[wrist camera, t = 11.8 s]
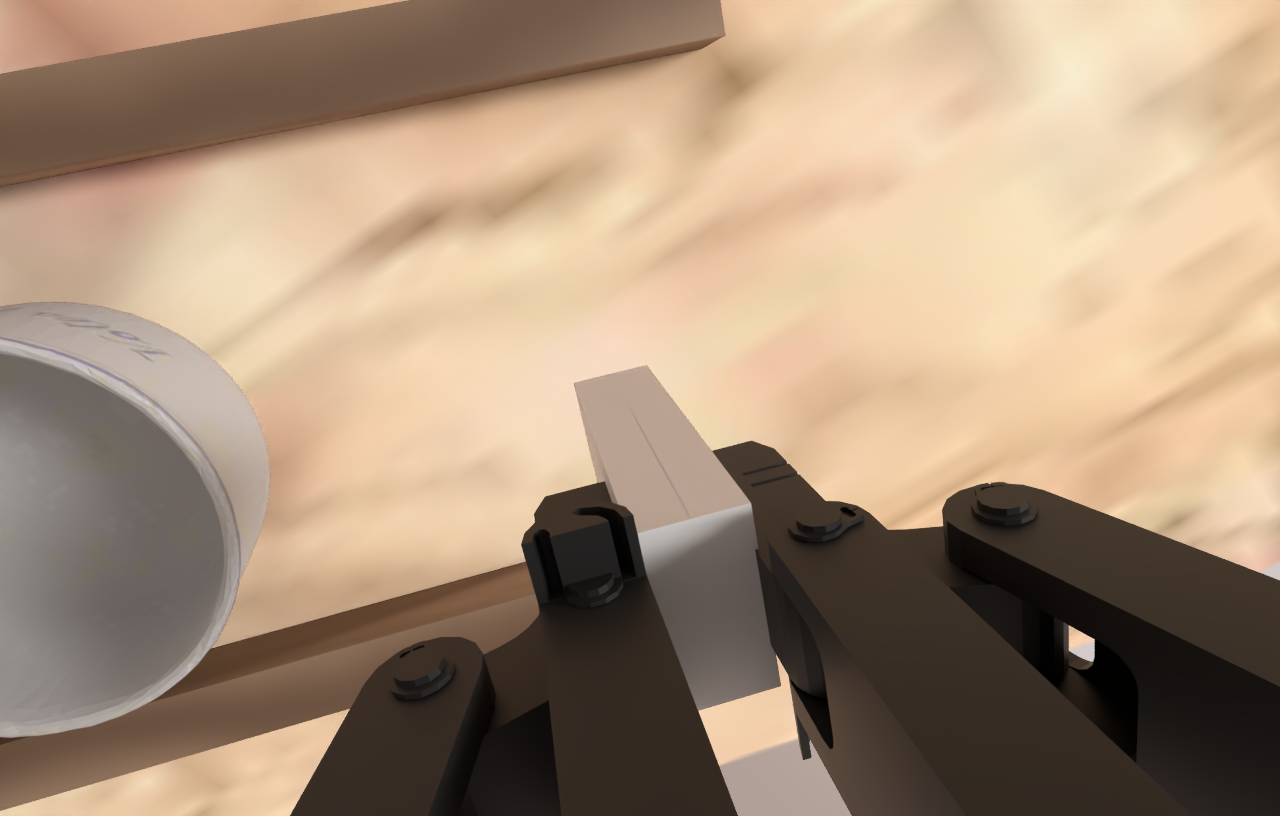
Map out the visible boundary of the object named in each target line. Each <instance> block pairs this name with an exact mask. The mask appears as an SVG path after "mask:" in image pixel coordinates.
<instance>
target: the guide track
mask: <svg viewBox="0 0 1280 816" xmlns="http://www.w3.org/2000/svg"><path fill="white" fill-rule="evenodd" d="M723 36H725V30H724V23H723V16H722V9H721V2H720V0H409V1H403V2H398V3H392V4H387V5H381V6H375V7H370V8H364V9H359V10H353V11H348V12H342V13H337V14H331V15H325V16H320V17H314V18H309V19H303V20H298V21H292V22H287V23H281V24H275V25H270V26H264V27H259V28H253V29H248V30H242V31H237V32H231V33H225V34H220V35H214V36H209V37H203V38H198V39H192V40H187V41H181V42H175V43H170V44H164V45H159V46H153V47H148V48H142V49H137V50H131V51H125V52H120V53H114V54H109V55H103V56H98V57H92V58H86V59H81V60H75V61H70V62H64V63H59V64H53V65H48V66H42V67H36V68H31V69H25V70H20V71H14V72H9V73H3V74H0V187H2V186H7V185H12V184H17V183H22V182H27V181H32V180H37V179H42V178H48V177H53V176H58V175H63V174H68V173H73V172H78V171H83V170H88V169H93V168H98V167H103V166H108V165H113V164H119V163H124V162H129V161H134V160H139V159H144V158H149V157H154V156H159V155H164V154H169V153H174V152H179V151H185V150H190V149H195V148H200V147H205V146H210V145H215V144H220V143H225V142H230V141H235V140H240V139H245V138H250V137H256V136H261V135H266V134H271V133H276V132H281V131H286V130H291V129H296V128H301V127H306V126H311V125H316V124H321V123H327V122H332V121H337V120H342V119H347V118H352V117H357V116H362V115H367V114H372V113H377V112H382V111H387V110H392V109H398V108H403V107H408V106H413V105H418V104H423V103H428V102H433V101H438V100H443V99H448V98H453V97H458V96H463V95H469V94H474V93H479V92H484V91H489V90H494V89H499V88H504V87H509V86H514V85H519V84H524V83H529V82H534V81H540V80H545V79H550V78H555V77H560V76H565V75H570V74H575V73H580V72H585V71H590V70H595V69H600V68H605V67H611V66H616V65H621V64H626V63H631V62H636V61H641V60H646V59H651V58H656V57H661V56H666V55H671V54H676V53H682V52H687V51H692V50H697V49H702V48H704V47H706V46H708V45H709V44H711V43H713V42H714V41H716V40H718V39H720V38H721V37H723ZM538 615H539V606H538V602H537V598H536V595H535V591H534V588H533V584H532V581H531V577H530V574H529V570H528V567H527V563H526V562H524V563H521V564H517V565H513V566H510V567H506V568H503V569H499V570H495V571H492V572H488V573H484V574H481V575H477V576H474V577H470V578H466V579H463V580H459V581H456V582H452V583H448V584H445V585H441V586H437V587H434V588H430V589H427V590H423V591H419V592H416V593H412V594H409V595H405V596H401V597H398V598H394V599H391V600H387V601H383V602H380V603H376V604H372V605H369V606H365V607H362V608H358V609H354V610H351V611H347V612H344V613H340V614H336V615H333V616H329V617H325V618H322V619H318V620H315V621H311V622H307V623H304V624H300V625H297V626H293V627H289V628H286V629H282V630H279V631H275V632H271V633H268V634H264V635H260V636H257V637H253V638H250V639H246V640H242V641H239V642H235V643H232V644H228V645H224V646H221V647H217V648H213V649H210V650H209V651H208V652H207V654H206V655H205V656H204V657H203V659H202V660H201V661H200V662H199V664H198V665H197V666H196V667H195V668H193V669H192V670H191V671H190V672H189V673H188V674H187V675H186V676H185V677H184V678H182V679H181V680H180V681H179V682H177V683H176V684H175V685H174V686H173V687H171V688H170V689H169V690H167V691H166V692H164V693H163V694H162V695H160V696H159V697H157V698H156V699H154V700H152V701H150V702H149V703H147V704H145V705H143V706H141V707H139V708H137V709H135V710H133V711H131V712H129V713H126V714H124V715H122V716H119V717H117V718H114V719H111V720H108V721H105V722H102V723H100V724H97V725H94V726H90V727H85V728H79V729H73V730H68V731H64V732H60V733H53V734H47V735H39V736H25V737H13V738H8V737H0V811H1V810H5V809H8V808H12V807H15V806H18V805H22V804H25V803H29V802H32V801H35V800H39V799H42V798H46V797H49V796H53V795H56V794H59V793H63V792H66V791H70V790H73V789H76V788H80V787H83V786H87V785H90V784H94V783H97V782H100V781H104V780H107V779H111V778H114V777H118V776H121V775H124V774H128V773H131V772H135V771H138V770H141V769H145V768H148V767H152V766H155V765H159V764H162V763H165V762H169V761H172V760H176V759H179V758H182V757H186V756H189V755H193V754H196V753H200V752H203V751H206V750H210V749H213V748H217V747H220V746H223V745H227V744H230V743H234V742H237V741H241V740H244V739H247V738H251V737H254V736H258V735H261V734H264V733H268V732H271V731H275V730H278V729H282V728H285V727H288V726H292V725H295V724H299V723H302V722H305V721H309V720H312V719H316V718H319V717H323V716H326V715H329V714H333V713H336V712H340V711H343V710H347V709H350V708H351V707H352V705H353V703H354V701H355V700H356V698H357V696H358V694H359V693H360V691H361V689H362V687H363V685H364V684H365V682H366V681H367V680H368V679H369V677H370V676H371V675H372V674H373V672H374V671H375V670H376V669H377V667H379V666H380V665H381V664H383V663H384V662H385V661H387V660H388V659H389V658H391V657H392V656H393V655H395V654H396V653H398V652H399V651H401V650H403V649H405V648H406V647H410V646H411V645H413V644H416V643H418V642H421V641H427V640H431V639H435V638H439V637H462V638H465V639H468V640H470V641H473V642H475V643H476V644H477V645H478V647H479V648H480V650H481V651H482V653H483V655H484V654H486V653H488V652H490V651H492V650H494V649H496V648H498V647H500V646H502V645H504V644H505V643H507V642H509V641H510V640H512V639H514V638H515V637H517V636H518V635H520V634H521V633H522V632H523V631H524V630H526V629H527V628H528V627H529V626H530V625H531V624H532V623H533V622H534V620H535V619H536V618H537V617H538Z"/></svg>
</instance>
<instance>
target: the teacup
mask: <svg viewBox="0 0 1280 816" xmlns="http://www.w3.org/2000/svg"><path fill="white" fill-rule="evenodd" d="M269 488H270V465H269V456H268V451H267V446H266V442H265V437H264V434H263V431H262V428H261V426H260V423H259V421H258V418H257V416H256V414H255V412H254V410H253V408H252V406H251V404H250V403H249V401H248V399H247V398H246V396H245V395H244V393H243V391H242V390H241V389H240V388H239V386H238V385H237V384H236V382H235V381H234V380H233V378H232V377H231V376H230V375H229V374H228V373H227V372H226V371H225V370H224V369H223V368H222V367H221V366H220V365H219V364H218V363H217V362H216V361H214V360H213V359H212V358H211V357H210V356H209V355H208V354H207V353H205V352H204V351H203V350H201V349H200V348H199V347H197V346H196V345H195V344H193V343H192V342H190V341H189V340H187V339H186V338H184V337H182V336H181V335H179V334H177V333H175V332H173V331H171V330H169V329H167V328H165V327H163V326H161V325H159V324H157V323H154V322H152V321H149V320H146V319H144V318H141V317H139V316H136V315H133V314H130V313H126V312H122V311H118V310H114V309H110V308H105V307H101V306H96V305H88V304H79V303H66V302H38V303H23V304H15V305H8V306H2V307H0V737H8V738H13V737H25V736H39V735H47V734H53V733H60V732H64V731H68V730H73V729H79V728H85V727H90V726H94V725H97V724H100V723H102V722H105V721H108V720H111V719H114V718H117V717H119V716H122V715H124V714H126V713H129V712H131V711H133V710H135V709H137V708H139V707H141V706H143V705H145V704H147V703H149V702H150V701H152V700H154V699H156V698H157V697H159V696H160V695H162V694H163V693H164V692H166V691H167V690H169V689H170V688H171V687H173V686H174V685H175V684H176V683H177V682H179V681H180V680H181V679H182V678H184V677H185V676H186V675H187V674H188V673H189V672H190V671H191V670H192V669H193V668H195V667H196V666H197V665H198V664H199V662H200V661H201V660H202V659H203V657H204V656H205V655H206V654H207V652H208V651H209V650H210V649H211V647H212V646H213V645H214V644H215V642H216V641H217V639H218V637H219V635H220V634H221V632H222V630H223V628H224V626H225V625H226V622H227V620H228V617H229V615H230V613H231V610H232V608H233V605H234V602H235V598H236V594H237V590H238V587H239V581H240V579H241V577H242V575H243V572H244V570H245V568H246V566H247V563H248V561H249V559H250V556H251V554H252V552H253V549H254V546H255V544H256V541H257V538H258V536H259V533H260V530H261V527H262V524H263V521H264V517H265V513H266V509H267V504H268V500H269Z"/></svg>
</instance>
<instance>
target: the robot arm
mask: <svg viewBox="0 0 1280 816" xmlns="http://www.w3.org/2000/svg"><path fill="white" fill-rule="evenodd" d="M574 386H575V390H576V394H577V399H578V403H579V407H580V411H581V416H582V420H583V424H584V428H585V432H586V437H587V441H588V445H589V449H590V453H591V458H592V462H593V466H594V470H595V474H596V479H597V483H596V484H592V485H588V486H584V487H580V488H577V489H573V490H569V491H565V492H561V493H557V494H553V495H550V496H546V497H545V498H544V499H543V501H542V502H541V504H540V505H539V507H538V509H537V510H536V512H535V513H534V517H535V523H534V524H533V525H532V526H531V527H530V528H529V529H528V530H527V531H526V532H525V534H524V537H523V540H522V544H521V546H522V549H523V553H524V556H525V560H526V563H527V567H528V570H529V574H530V577H531V581H532V584H533V588H534V591H535V595H536V598H537V602H538V606H539V615H538V617H537V618H536V619H535V620H534V622H533V623H532V624H531V625H530V626H529V627H528V628H527V629H526V630H524V631H523V632H522V633H521V634H520V635H518V636H517V637H515V638H514V639H512V640H510V641H509V642H507V643H505V644H504V645H502V646H500V647H498V648H496V649H494V650H492V651H490V652H488V653H486V654H484V655H483V653H482V651H481V650H480V648H479V647H478V645H477V644H476V643H475V642H473V641H470V640H468V639H465V638H462V637H439V638H435V639H431V640H427V641H421V642H418V643H416V644H413V645H411V646H410V647H406V648H405V649H403V650H401V651H399V652H398V653H396V654H395V655H393V656H392V657H391V658H389V659H388V660H387V661H385V662H384V663H383V664H381V665H380V666H379V667H377V669H376V670H375V671H374V672H373V674H372V675H371V676H370V677H369V679H368V680H367V681H366V682H365V684H364V685H363V687H362V689H361V691H360V693H359V694H358V696H357V698H356V700H355V701H354V703H353V705H352V707H351V708H350V710H349V712H348V714H347V716H346V717H345V719H344V721H343V723H342V724H341V726H340V728H339V730H338V732H337V733H336V735H335V737H334V739H333V740H332V742H331V744H330V746H329V747H328V749H327V751H326V753H325V755H324V756H323V758H322V760H321V762H320V763H319V765H318V767H317V769H316V771H315V772H314V774H313V776H312V778H311V779H310V781H309V783H308V785H307V787H306V788H305V790H304V792H303V794H302V795H301V797H300V799H299V801H298V802H297V804H296V806H295V808H294V810H293V811H292V813H291V815H290V816H738V815H737V812H736V810H735V807H734V804H733V802H732V799H731V797H730V794H729V791H728V788H727V786H726V783H725V781H724V778H723V776H722V773H721V770H720V767H719V765H718V762H717V759H716V757H715V754H714V752H713V749H712V746H711V744H710V741H709V738H708V736H707V733H706V730H705V728H704V725H703V722H702V720H701V717H700V715H699V712H698V711H699V710H702V709H705V708H709V707H712V706H715V705H719V704H722V703H726V702H729V701H732V700H736V699H739V698H742V697H746V696H749V695H752V694H756V693H759V692H763V691H766V690H769V689H773V688H776V687H779V686H781V683H780V677H779V671H778V665H777V659H776V655H777V656H778V658H779V660H780V661H781V663H782V665H783V667H784V668H785V670H786V672H787V674H788V675H789V682H790V688H791V694H792V701H793V707H794V713H795V719H796V726H797V732H798V738H799V744H800V749H801V753H802V758H803V760H805V759H809V758H811V751H810V745H809V742H810V740H811V742H812V743H813V745H814V747H815V749H816V751H817V753H818V755H819V756H820V758H821V760H822V762H823V764H824V766H825V767H826V769H827V771H828V773H829V775H830V777H831V778H832V780H833V782H834V784H835V786H836V788H837V789H838V791H839V793H840V795H841V797H842V799H843V800H844V802H845V804H846V806H847V808H848V810H849V811H850V813H851V815H852V816H1280V580H1277V579H1274V578H1272V577H1269V576H1266V575H1264V574H1261V573H1259V572H1256V571H1254V570H1251V569H1248V568H1246V567H1243V566H1241V565H1238V564H1235V563H1233V562H1230V561H1227V560H1225V559H1222V558H1220V557H1217V556H1214V555H1212V554H1209V553H1207V552H1204V551H1201V550H1199V549H1196V548H1193V547H1191V546H1188V545H1186V544H1183V543H1180V542H1178V541H1175V540H1173V539H1170V538H1167V537H1165V536H1162V535H1159V534H1157V533H1154V532H1152V531H1149V530H1146V529H1144V528H1141V527H1139V526H1136V525H1133V524H1131V523H1128V522H1125V521H1123V520H1120V519H1118V518H1115V517H1112V516H1110V515H1107V514H1105V513H1102V512H1099V511H1097V510H1094V509H1091V508H1089V507H1086V506H1084V505H1081V504H1078V503H1076V502H1073V501H1071V500H1068V499H1065V498H1063V497H1060V496H1057V495H1055V494H1052V493H1050V492H1047V491H1044V490H1041V489H1037V488H1033V487H1029V486H1025V485H1017V484H1007V483H1004V482H995V483H991V484H988V483H985V484H980V485H976V486H974V487H971V488H967V489H964V490H961V491H958V492H957V493H955V494H954V495H952V496H951V497H949V498H948V499H947V500H946V502H945V505H944V507H943V509H942V513H943V526H942V527H930V528H918V529H907V530H887V529H886V528H885V527H884V526H883V525H882V524H881V523H880V522H879V521H878V520H877V519H875V518H874V517H873V516H872V515H871V514H870V513H869V512H867V511H865V510H864V509H862V508H860V507H858V506H856V505H852V504H848V503H844V502H839V501H825V500H824V499H823V498H822V497H821V496H820V495H819V494H818V493H817V492H816V491H815V490H814V489H813V488H812V487H811V486H810V485H809V484H808V483H807V482H806V481H805V480H804V479H803V478H802V477H801V476H800V475H798V474H797V472H796V471H795V469H794V468H793V467H792V466H791V465H790V464H787V461H786V460H785V459H784V458H783V457H782V456H781V455H780V454H779V453H778V452H777V451H776V450H775V449H774V448H771V447H768V446H765V445H762V444H759V443H757V442H754V441H749V442H745V443H741V444H737V445H733V446H729V447H726V448H722V449H718V450H714V451H711V449H710V448H709V447H708V445H707V444H706V443H705V441H704V440H703V439H702V437H701V436H700V435H699V434H698V432H697V431H696V430H695V428H694V427H693V426H692V424H691V423H690V422H689V420H688V419H687V418H686V416H685V415H684V414H683V412H682V411H681V410H680V408H679V407H678V406H677V404H676V403H675V402H674V400H673V399H672V398H671V397H670V395H669V394H668V393H667V391H666V390H665V389H664V387H663V386H662V385H661V383H660V382H659V381H658V379H657V378H656V377H655V375H654V374H653V373H652V371H651V370H650V369H649V367H648V366H647V365H646V366H642V367H637V368H633V369H629V370H625V371H621V372H617V373H613V374H609V375H605V376H601V377H596V378H592V379H588V380H584V381H580V382H576V383H574ZM1068 625H1070V626H1071V627H1073V628H1075V629H1077V630H1079V631H1081V632H1082V633H1084V634H1086V635H1088V636H1090V637H1092V638H1093V639H1095V658H1094V661H1093V662H1090V661H1087V660H1085V659H1082V658H1080V657H1078V656H1076V655H1074V654H1073V653H1071V652H1070V651H1069V628H1068Z"/></svg>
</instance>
